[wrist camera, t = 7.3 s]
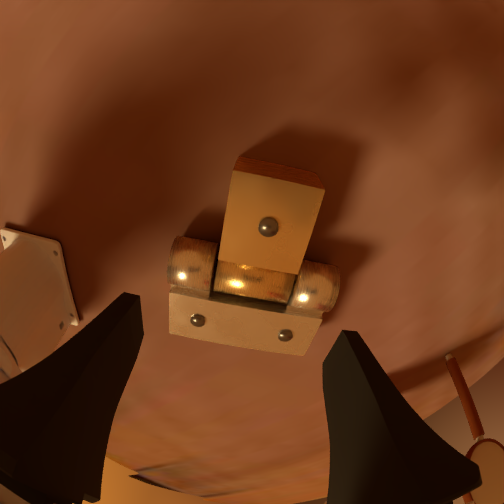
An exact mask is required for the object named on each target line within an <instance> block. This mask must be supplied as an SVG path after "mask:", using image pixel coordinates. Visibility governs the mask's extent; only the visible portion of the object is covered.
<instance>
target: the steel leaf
mask: <svg viewBox="0 0 504 504" xmlns="http://www.w3.org/2000/svg"><path fill="white" fill-rule="evenodd" d="M217 252H218V243H214V242H209V241H204V240H198V239H193V238H188V237H183V236H177V237H176V238H175V240H174V242H173V245H172V248H171V251H170V255H169V260H168V267H167V281H168V283H169V284H171V289H170V292H169V333H171V334H176V335H180V336H185V337H190V338H194V339H199V340H204V341H209V342H215V343H220V344H225V345H231V346H237V347H243V348H249V349H256V350H262V351H269V352H277V353H284V354H293V355H301V356H304V355H305V353H306V351H307V349H308V347H309V345H310V343H311V341H312V340H313V338H314V336H315V334H316V332H317V330H318V328H319V326H320V324H321V322H322V320H323V318H322V314H323V312H329V311H331V310H332V308H333V307H334V305H335V303H336V300H337V297H338V294H339V288H340V272H339V269H338V267H337V266H334V265H329V264H324V263H318V262H313V261H308V260H303V261H302V263H301V266H300V269H299V272H298V275H296V274H295V278H294V284H293V288H292V291H291V295H290V297H289V299H288V301H287V302H286V303H280V302H274V301H268V300H262V299H257V298H251V297H245V296H240V295H234V294H229V293H223V292H218V291H214V283H215V277H214V272H215V264H216V259H217Z"/></svg>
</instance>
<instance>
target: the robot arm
mask: <svg viewBox="0 0 504 504" xmlns="http://www.w3.org/2000/svg"><path fill="white" fill-rule="evenodd" d="M0 233H1V237H2V241H3V245H4V249H5V250H4V251H3V252H2V253H1V254H0V504H72V503H74V504H82V501H83V500H86V501H88V502H91V503H94V502H97V501H99V500H100V495H101V483H102V474H103V467H104V460H105V454H106V449H107V444H108V439H109V434H110V430H111V426H112V422H113V418H114V415H115V412H116V409H117V406H118V403H119V401H120V398H121V396H122V393H123V391H124V388H125V386H126V383H127V381H128V379H129V376H130V374H131V371H132V369H133V367H134V364H135V362H136V359H137V356H138V353H139V350H140V346H141V343H142V339H143V336H144V331H143V322H142V313H141V303H140V296H139V295H134V294H130V293H126V292H124V293H122V294H121V295H120V296H119V297H118V298H117V299H115V300H114V301H113V302H112V303H111V304H110V305H109V306H108V307H107V308H106V309H104V310H103V311H102V312H101V313H100V314H99V315H98V316H97V317H96V318H94V319H93V320H92V321H91V322H90V323H89V324H88V325H86V326H85V327H84V328H83V329H82V330H81V331H80V332H78V333H77V334H76V335H75V336H73V337H72V338H71V339H70V340H68V341H67V342H66V343H65V344H64V345H62V346H61V347H60V348H58V349H57V350H56V351H54V350H55V349H56V347H57V345H58V343H59V342H60V340H61V338H62V337H63V335H64V333H65V332H66V330H67V329H68V327H69V325H70V324H72V325H75V326H78V324H79V323H80V321H79V318H78V315H77V311H76V308H75V304H74V301H73V297H72V293H71V289H70V285H69V281H68V277H67V272H66V268H65V263H64V258H63V253H62V248H61V244H60V243H59V242H58V241H56V240H52V239H48V238H44V237H40V236H36V235H32V234H28V233H24V232H21V231H17V230H13V229H9V228H5V227H3V228H2V229H1V230H0ZM56 251H57V252H56ZM323 392H324V400H325V407H326V414H327V422H328V430H329V438H330V474H329V488H328V497H327V504H453V500H455V499H457V498H459V497H461V496H463V495H465V494H467V493H469V492H471V491H473V490H475V489H477V488H478V487H480V486H481V485H482V478H481V473H480V469H479V465H478V464H476V463H475V462H473V461H471V460H470V459H468V458H467V457H465V456H464V455H462V454H461V453H459V452H458V451H457V450H455V449H454V448H453V447H451V446H450V445H449V444H448V443H447V442H445V441H444V440H443V439H442V438H441V437H440V436H439V435H437V434H436V433H435V432H434V431H433V430H432V429H431V428H430V427H429V426H428V425H427V424H426V423H425V422H424V421H423V420H422V419H421V418H420V416H419V415H418V414H417V413H416V412H415V411H414V410H413V409H412V407H411V406H410V405H409V404H408V403H407V401H406V400H405V399H404V397H403V396H402V395H401V394H400V392H399V391H398V390H397V388H396V387H395V386H394V384H393V383H392V382H391V380H390V379H389V377H388V376H387V374H386V373H385V372H384V370H383V369H382V367H381V366H380V364H379V363H378V361H377V360H376V358H375V357H374V355H373V354H372V352H371V351H370V349H369V348H368V346H367V345H366V343H365V342H364V340H363V339H362V338H361V336H360V335H359V333H358V332H357V331H348V330H342V331H341V333H340V335H339V337H338V338H337V340H336V342H335V343H334V345H333V347H332V348H331V350H330V352H329V353H328V355H327V357H326V358H325V360H324V362H323ZM466 504H475V503H474V501H470V502H468V503H466Z"/></svg>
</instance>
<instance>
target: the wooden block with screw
mask: <svg viewBox="0 0 504 504" xmlns="http://www.w3.org/2000/svg"><path fill="white" fill-rule="evenodd" d="M324 193H325V189H324V187H323V185H322V183H321V181H320V180H319V178H318V176H317V174H316V173H314V172H310V171H306V170H302V169H297V168H293V167H289V166H284V165H280V164H275V163H270V162H266V161H261V160H256V159H251V158H245V157H240V156H239V157H238V159H237V161H236V164H235V166H234V169H233V172H232V178H231V183H230V189H229V195H228V201H227V207H226V213H225V219H224V225H223V231H222V237H221V243H220V250H219V256H218V265H217V271H216V277H215V283H214V291H218V292H223V293H229V294H234V295H240V296H245V297H251V298H257V299H262V300H268V301H274V302H280V303H286V302H287V301H288V299H289V297H290V295H291V291H292V288H293V284H294V278H295V274H296V275H298V272H299V269H300V266H301V263H302V261H303V258H304V255H305V252H306V249H307V246H308V243H309V240H310V237H311V234H312V231H313V228H314V225H315V222H316V218H317V215H318V212H319V209H320V206H321V203H322V199H323V196H324Z"/></svg>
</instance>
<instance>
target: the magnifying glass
mask: <svg viewBox="0 0 504 504" xmlns="http://www.w3.org/2000/svg"><path fill="white" fill-rule="evenodd" d="M445 358H446V360H447V362H446V365H447V367H448V370H449V372H450V374H451V377H452V379H453V382H454V384H455V387H456V389H457V392H458V394H459V397H460V400H461V402H462V405H463V408H464V411H465V414H466V417H467V419H468V423H469V426H470V429H471V432H472V435H473V438H474V440H476V441H477V443H475V444H474V445H473V446H472V447H471V448H470V449H469V451H468V452H467V454H466V456H465V457H467V458H468V459H470V460H471V461H473V462H475V463H476V464H478V465H479V469H480V473H481V478H482V485H481V486H480V487H478V488H477V489H475V490H473V491H471V492H469V493H467V494H465V495H463V499H464V502H465V504H466V503H468V502H470V501H474V503H475V504H504V446H503V445H502V444H501V443H499V442H498V441H496V440H494V439H490V438H489V439H484V438H483V435H484V430H483V427H482V424H481V421H480V419H479V415H478V413H477V410H476V407H475V405H474V402H473V399H472V397H471V394H470V392H469V389H468V387H467V384H466V382H465V379H464V377H463V375H462V373H461V370H460V368H459V366H458V364H457V361H456V359H455V358H453V357H452V355H451V354H447V355H446V357H445Z"/></svg>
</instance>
